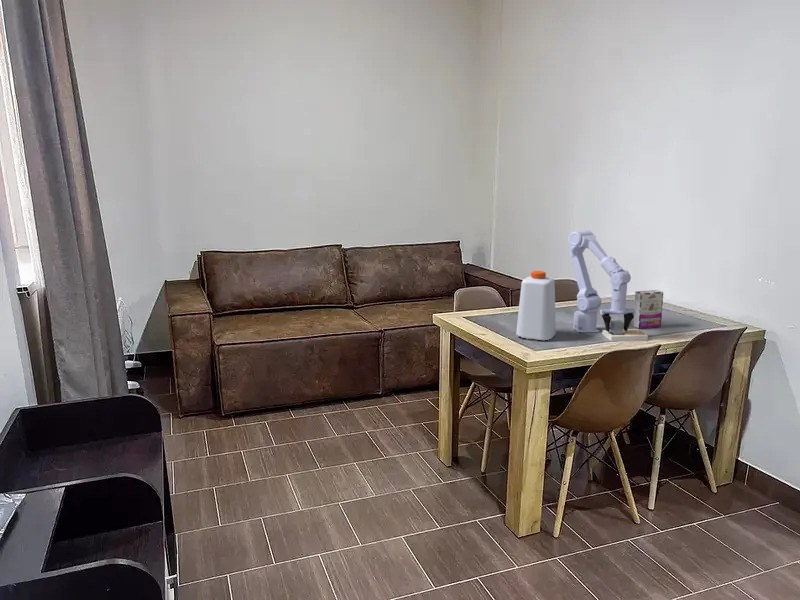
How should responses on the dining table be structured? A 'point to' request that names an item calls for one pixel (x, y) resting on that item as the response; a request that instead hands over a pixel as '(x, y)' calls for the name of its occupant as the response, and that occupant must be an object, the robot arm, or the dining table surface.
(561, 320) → the dining table surface
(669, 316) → the dining table surface
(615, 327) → the steel block
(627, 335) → the shallow wooden tray
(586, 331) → the robot arm
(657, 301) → the candy bar box
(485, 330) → the dining table surface
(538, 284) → the plastic bottle
